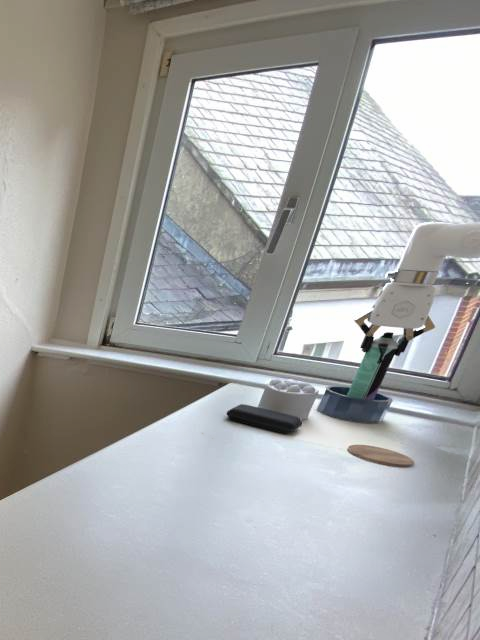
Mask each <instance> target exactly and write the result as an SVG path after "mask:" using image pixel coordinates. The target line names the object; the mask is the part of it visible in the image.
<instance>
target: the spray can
mask: <svg viewBox="0 0 480 640" xmlns="http://www.w3.org/2000/svg"><path fill="white" fill-rule="evenodd" d="M398 345H399V343H398V342H397V341H396V340H395V337H394V332H392V331H391V332H390V331H387V332H384V333H383V335H380V336H379V337H378V338H374V339H373V342H372V344H371V346H370V348H369V351H368V352H364V355H363V357H362V360H361V362H360V364H359V366H358V369H357V371H356V374H355V375H354V378H353V380H352V382H351V385H350V386H349V387H350V389H349V391H348V394H347V396H350V397H354V398H360V399H367V400H374V398H375V396H376V394H377V393H379V390H380V387H381V385H382V383H383V381H384V379H385V376H386V374H387V372H388V369H389V368H390V366H391V363H392V361H393V360H394V357H395V356H396V355H395V353H396V351H397V348H398Z"/></svg>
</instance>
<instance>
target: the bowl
mask: <svg viewBox="0 0 480 640" xmlns="http://www.w3.org/2000/svg"><path fill="white" fill-rule="evenodd" d="M350 387H351V386H342V385H328V386H325V388H324V390H323V392H322V395H321V397H320V399H319V401H318V404H317V406H316V411H317V412H319V413H321V414H323V415H325V416H329V417H331V418H335V419H339V420H343V421H348V422H353V423H359V424H361V423H362V424H369V425H370V424H380V423H382V422H383V421H384V418H385V417H386V415H387V413H388V411H389V409H390V407H391V405H392V403H393V401H394V400H393V398H392V397H391V396H388V395H386V394H383V393H380V392H377V394H376V396H375V398H374V400H367V399H360V398H354V397H350V396H347V394H348V391H349V389H350Z"/></svg>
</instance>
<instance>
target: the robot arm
mask: <svg viewBox="0 0 480 640" xmlns="http://www.w3.org/2000/svg"><path fill="white" fill-rule="evenodd" d="M447 257H453V258H460V259H480V221H477V222H475V221H474V222H466V223H454V222H438V221H437V222H436V221H435V222H434V221H432V222H422V223H419V224H417V225H416V226H415V227H414V228H413V230H412V232H411V235H410V237H409V239H408V242H407V243H406V246H405V249H404V251H403V253H402V255H401V258H400V261H399V263H398V265H397V267H396V269H394V270H393V271H387V272H386V274H385V277H384V278H386V279H390V282H386V284H385V285H384V287H383V288H382V289H381V291H380V293H379V294H378V296H377V298H376V300H375V302H374V303H373V304H372V307H371V309H369V310H368V311H366V312H364V313H363V314H360V315H359V316H358V317H355V318H354V320H353V321H354V323H355V324H356V325H357V326H358V327H359V328H360V329H361V331H362V333H363V334H364V338H363V340H362V342H361V344H360V349H361V351H362V353H366V352H368V351H369V348H370V346H371V344H372V342H373V340H375V337H374V334H375V333H376V332H377V331H378V330H379V329H380V328H381V327H388V328H400V329H403V333H402V334H403V335H402V337H400V338H399V339H398V342H397V343H399V345H398V348H397V351H396V353H395V355H394V356H396V357H400V356H401V354H402V353H405V351H406V349H407V347H408V345H409V342H410V341H412V340H413V339H414V338H416V337H418V336H421V335H422V334H425V333H427V332H430V331H431V330H433V329H435V328H436V325H435V324H434V323H433V322H434V321H432V318H430V316H429V315H430V312H431V309H432V306H433V304H434V300H435V297H436V295H437V294H436V293H437V290H438V286H436V285H434V284H435V281H436V280H437V277H438V275H439V273H440V271H441V268H442V266H443V264H444V262H445V260H446V258H447ZM365 320H367V322H368V323H370V326H368V325H367V323H365Z"/></svg>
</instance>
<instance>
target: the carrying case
mask: <svg viewBox="0 0 480 640" xmlns="http://www.w3.org/2000/svg"><path fill="white" fill-rule="evenodd" d="M226 416H227V418H228V419H229V420H231V421H234V422H238V423H241V424H246V425H250V426H253V427H257V428H261V429H265V430H268V431H273V432H277V433H281V434H291V433H292V432H295V431H296V430H298V429H299V428H301V427H302V426H303V421H302V420H300V418H298V417H295V416H292V415H287V414H283V413H279V412H275V411H271V410H267V409H262V408H258V406H253V405H250V404H238V405H236V406H234V407H232V408H231V409H228V410H227V411H226Z"/></svg>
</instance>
